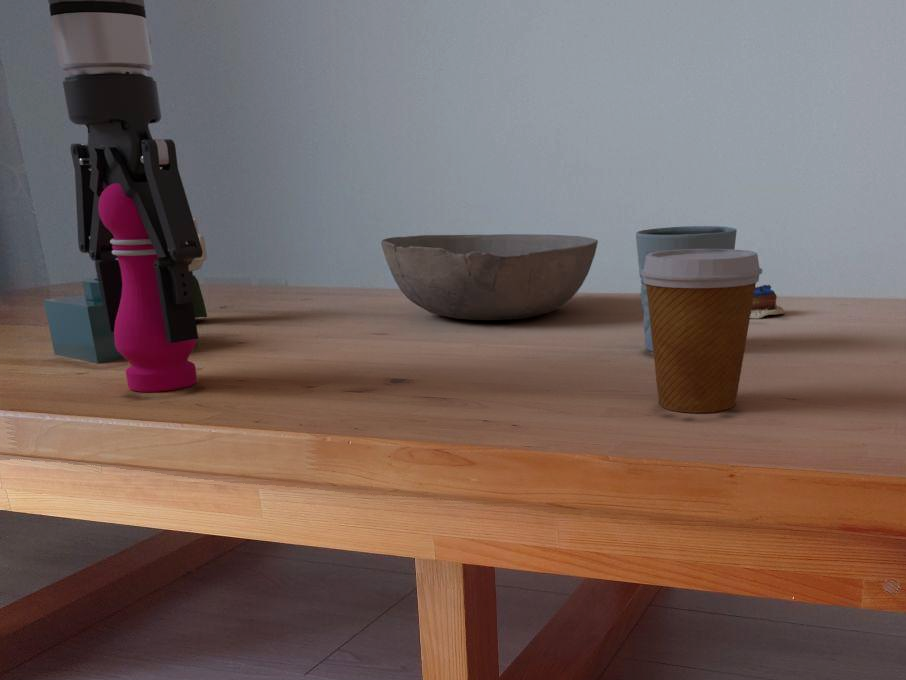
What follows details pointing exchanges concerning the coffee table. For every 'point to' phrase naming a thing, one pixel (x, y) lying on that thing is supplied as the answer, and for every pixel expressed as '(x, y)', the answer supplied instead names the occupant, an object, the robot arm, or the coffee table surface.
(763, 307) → the dessert
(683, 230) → the grey cup
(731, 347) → the disposable coffee cup
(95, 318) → the blue-grey boxy piece
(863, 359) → the coffee table surface
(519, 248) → the bowl
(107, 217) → the pepper mill
